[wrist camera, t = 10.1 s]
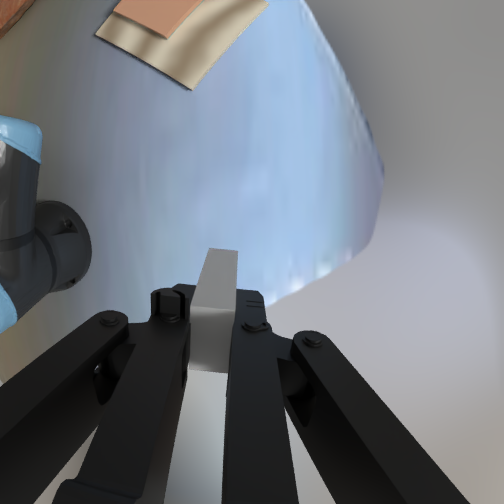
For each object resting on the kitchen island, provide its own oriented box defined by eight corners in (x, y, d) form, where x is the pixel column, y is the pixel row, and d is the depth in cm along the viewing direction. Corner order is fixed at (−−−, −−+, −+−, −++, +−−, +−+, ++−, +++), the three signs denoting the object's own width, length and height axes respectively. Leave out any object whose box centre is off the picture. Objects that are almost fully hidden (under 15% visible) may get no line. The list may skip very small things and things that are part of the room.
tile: (205, -7, 33) (150, -31, 30) (165, 36, 35) (112, 10, 32) (206, -3, 34) (153, -26, 32) (167, 39, 36) (116, 13, 34)
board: (268, 6, 36) (268, 3, 35) (192, 90, 40) (191, 89, 39) (169, -42, 32) (167, -45, 31) (97, 35, 36) (95, 34, 35)
